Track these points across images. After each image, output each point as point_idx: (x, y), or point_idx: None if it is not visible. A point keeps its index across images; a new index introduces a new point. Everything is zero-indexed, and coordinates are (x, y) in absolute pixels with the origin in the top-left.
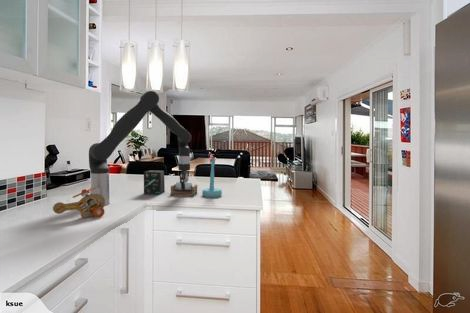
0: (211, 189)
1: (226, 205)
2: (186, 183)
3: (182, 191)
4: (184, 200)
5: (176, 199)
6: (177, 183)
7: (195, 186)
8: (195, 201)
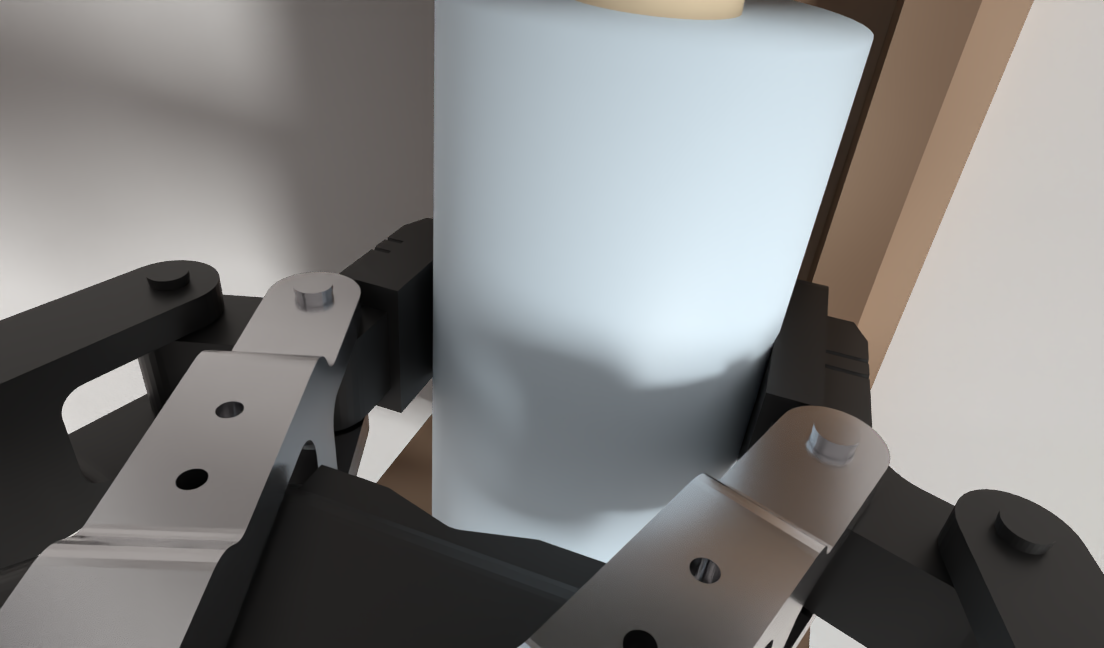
0: None
1: None
2: (445, 473)
3: (844, 172)
4: (101, 237)
5: (107, 73)
6: (445, 90)
7: None
8: (115, 396)
